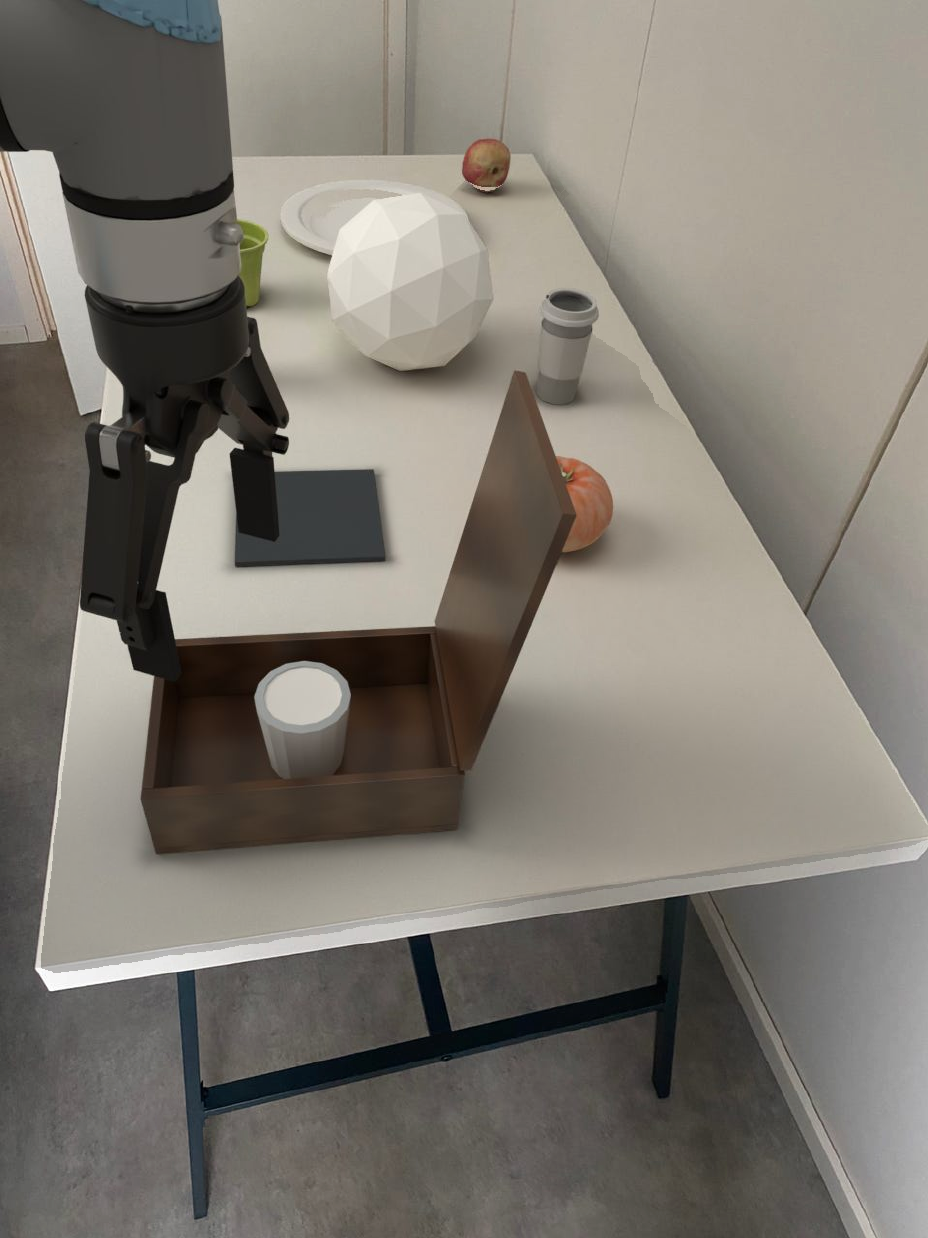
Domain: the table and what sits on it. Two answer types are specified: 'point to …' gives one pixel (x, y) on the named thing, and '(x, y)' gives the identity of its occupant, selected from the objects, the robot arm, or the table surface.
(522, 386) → the chest lid
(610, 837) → the table surface
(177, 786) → the chest
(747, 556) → the table surface
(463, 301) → the ball
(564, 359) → the cup
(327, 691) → the white grey-rimmed cylinder
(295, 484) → the drying mat
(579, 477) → the tomato
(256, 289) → the plant pot
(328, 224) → the plate
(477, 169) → the fruit
